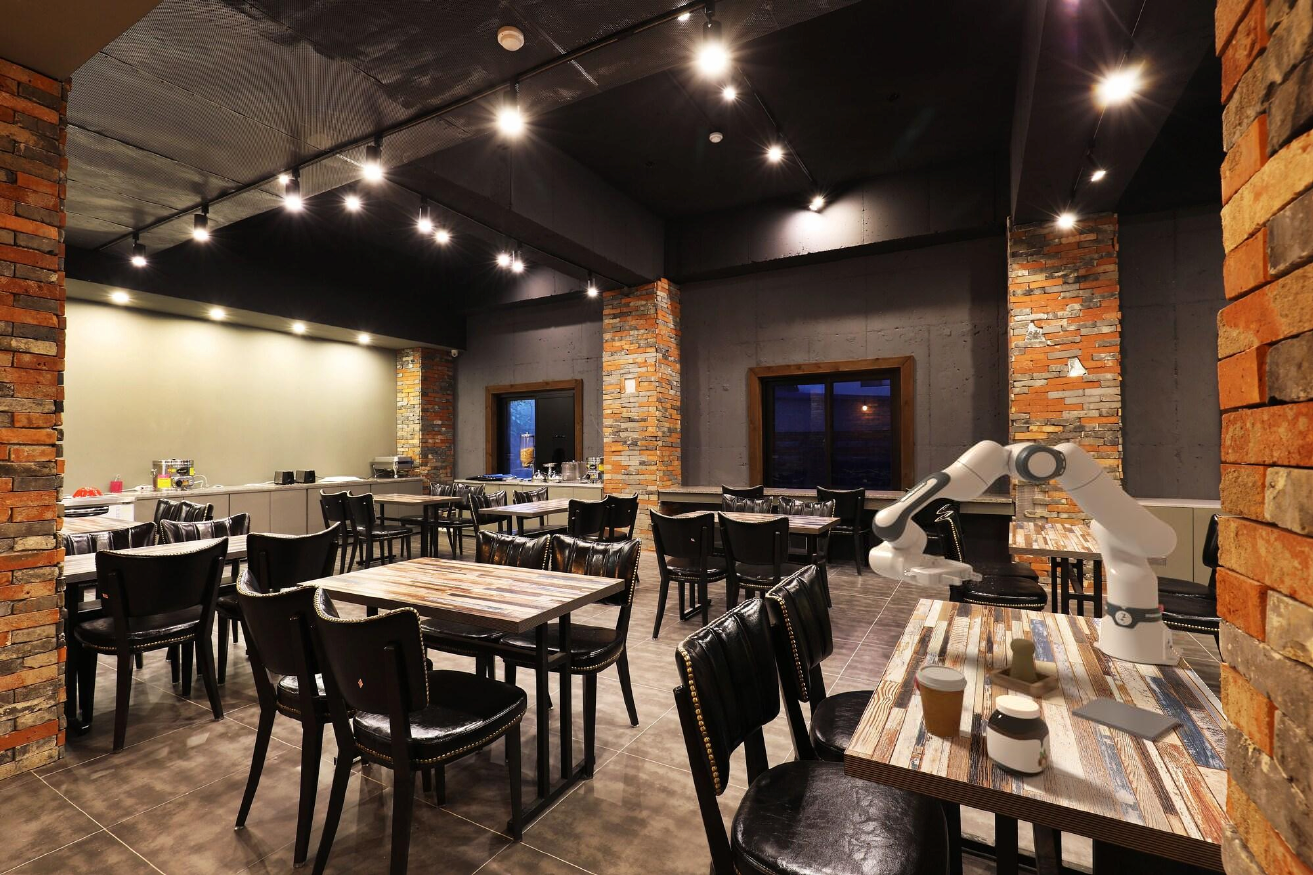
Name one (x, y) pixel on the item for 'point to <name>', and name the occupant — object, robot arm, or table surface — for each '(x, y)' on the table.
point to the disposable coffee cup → (941, 699)
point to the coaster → (1126, 718)
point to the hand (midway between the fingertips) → (970, 579)
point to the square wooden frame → (1034, 690)
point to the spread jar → (1018, 737)
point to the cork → (1023, 660)
